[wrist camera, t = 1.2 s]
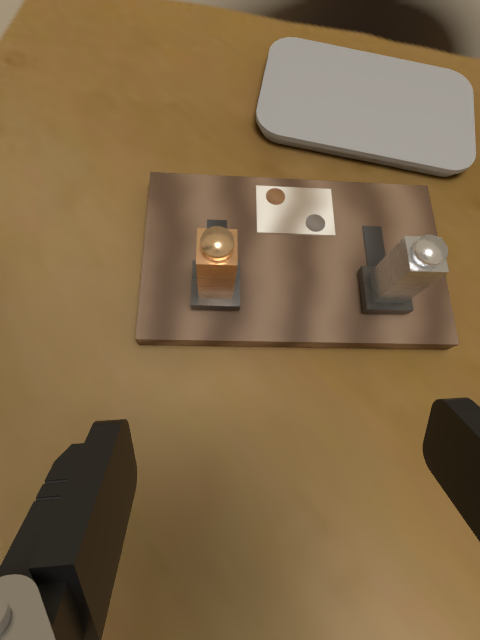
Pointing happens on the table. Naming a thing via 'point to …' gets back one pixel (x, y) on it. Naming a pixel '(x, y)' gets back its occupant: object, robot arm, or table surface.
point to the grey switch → (402, 274)
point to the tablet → (367, 107)
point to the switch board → (286, 263)
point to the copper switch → (216, 270)
